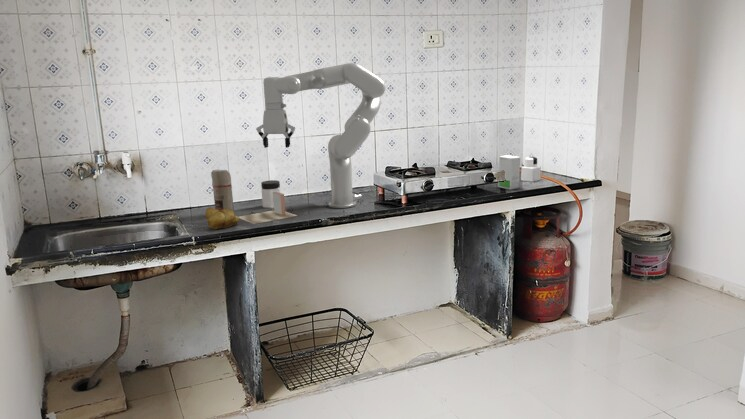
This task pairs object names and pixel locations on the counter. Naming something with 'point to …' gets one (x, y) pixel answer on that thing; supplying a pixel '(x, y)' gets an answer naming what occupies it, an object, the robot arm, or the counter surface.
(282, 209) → the tile
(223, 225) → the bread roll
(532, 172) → the medicine bottle
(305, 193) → the counter surface
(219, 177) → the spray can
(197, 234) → the counter surface
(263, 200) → the jar
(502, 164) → the skincare box
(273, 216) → the packaged sliced meat
